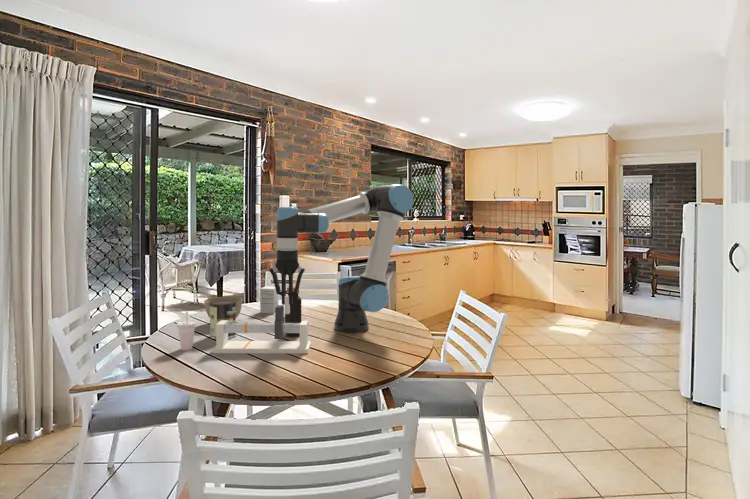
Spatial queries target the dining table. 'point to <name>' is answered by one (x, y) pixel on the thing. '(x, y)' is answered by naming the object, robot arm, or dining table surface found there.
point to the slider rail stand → (261, 343)
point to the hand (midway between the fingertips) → (287, 313)
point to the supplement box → (268, 299)
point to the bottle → (294, 312)
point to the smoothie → (186, 333)
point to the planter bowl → (238, 300)
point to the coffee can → (222, 315)
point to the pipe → (260, 328)
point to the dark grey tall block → (279, 321)
